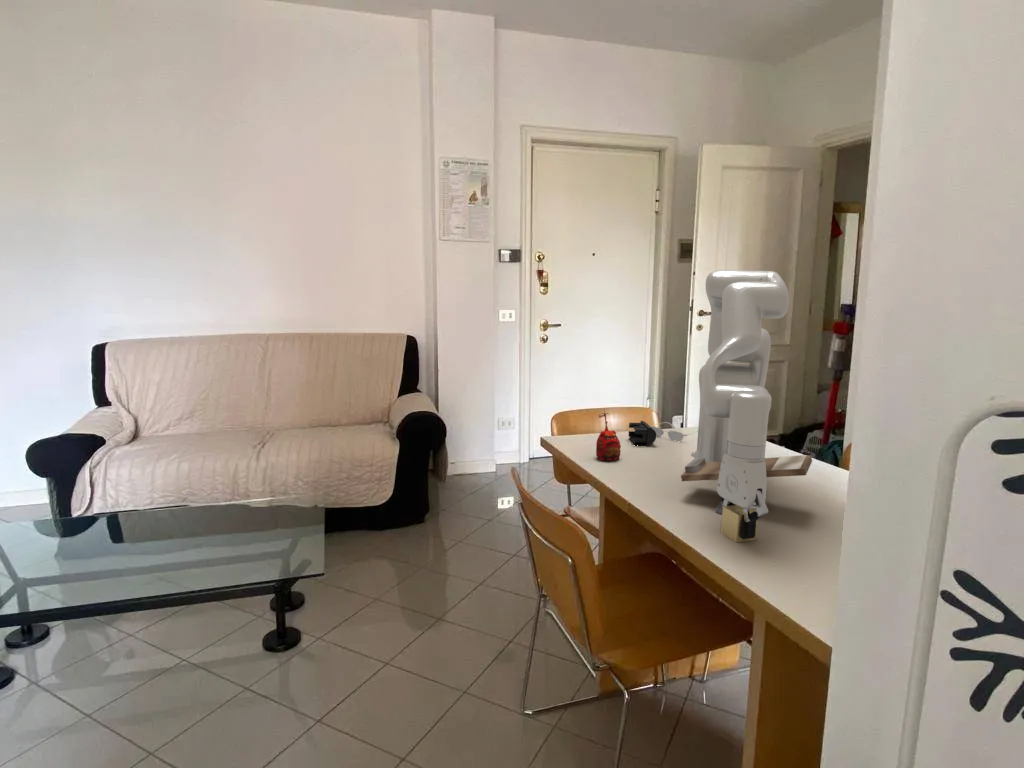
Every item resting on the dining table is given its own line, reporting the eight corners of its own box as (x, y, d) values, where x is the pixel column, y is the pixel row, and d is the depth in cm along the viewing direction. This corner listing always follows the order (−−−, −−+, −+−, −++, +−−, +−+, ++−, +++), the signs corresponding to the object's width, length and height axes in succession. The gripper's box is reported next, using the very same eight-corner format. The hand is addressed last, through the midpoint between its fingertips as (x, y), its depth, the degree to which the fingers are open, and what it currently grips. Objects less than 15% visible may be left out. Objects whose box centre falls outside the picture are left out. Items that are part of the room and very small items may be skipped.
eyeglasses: (645, 436, 213) (646, 425, 213) (672, 428, 226) (672, 418, 225) (684, 444, 202) (685, 433, 202) (710, 436, 215) (711, 425, 214)
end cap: (655, 447, 197) (657, 427, 196) (634, 447, 197) (635, 427, 195) (648, 439, 207) (649, 420, 206) (627, 439, 206) (628, 420, 205)
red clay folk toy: (603, 463, 178) (605, 414, 175) (590, 457, 184) (592, 409, 181) (624, 460, 181) (626, 412, 178) (611, 454, 187) (613, 407, 185)
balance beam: (681, 482, 147) (678, 470, 147) (696, 467, 159) (694, 456, 159) (805, 476, 132) (803, 462, 131) (812, 460, 144) (810, 448, 144)
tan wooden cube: (720, 532, 129) (723, 506, 128) (740, 530, 131) (742, 504, 130) (736, 542, 124) (738, 515, 123) (755, 539, 126) (758, 512, 125)
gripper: (705, 441, 131) (699, 519, 134) (759, 463, 115) (751, 551, 118) (733, 438, 133) (727, 516, 136) (790, 460, 117) (781, 547, 120)
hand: (738, 531), depth 127 cm, fingers closed on tan wooden cube, 5 cm apart
